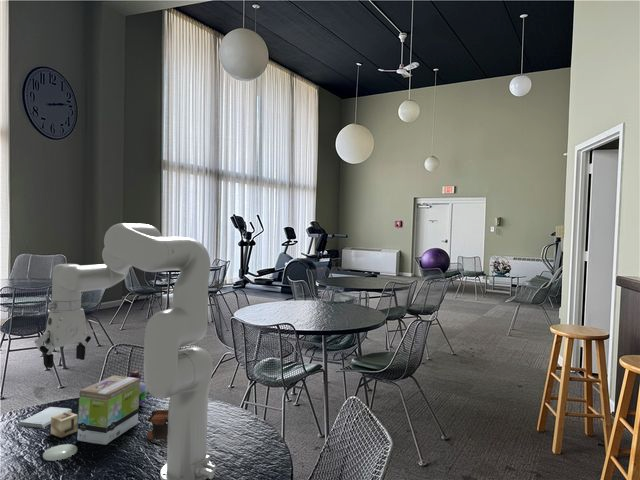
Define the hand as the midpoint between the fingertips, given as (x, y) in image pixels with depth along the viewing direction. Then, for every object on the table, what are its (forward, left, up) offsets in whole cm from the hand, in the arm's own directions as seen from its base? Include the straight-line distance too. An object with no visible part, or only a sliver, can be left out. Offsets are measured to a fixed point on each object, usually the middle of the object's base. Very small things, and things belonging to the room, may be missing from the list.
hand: (64, 362), depth 132 cm
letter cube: (0, 0, -21) cm, 21 cm away
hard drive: (+14, -3, -22) cm, 26 cm away
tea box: (-11, -7, -21) cm, 25 cm away
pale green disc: (-11, +8, -21) cm, 25 cm away
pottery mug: (-26, -15, -21) cm, 37 cm away
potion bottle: (-1, -24, -21) cm, 32 cm away
